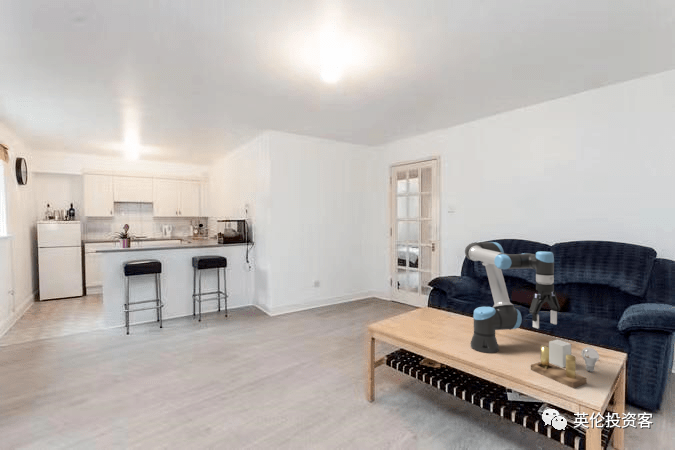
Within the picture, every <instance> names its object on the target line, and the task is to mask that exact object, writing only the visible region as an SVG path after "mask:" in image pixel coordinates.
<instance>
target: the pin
mask: <svg viewBox="0 0 675 450" xmlns="http://www.w3.org/2000/svg"><path fill="white" fill-rule="evenodd" d="M540 362H541V367H543V368H545V369H549V346H546V345H540Z"/></svg>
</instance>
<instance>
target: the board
mask: <svg viewBox="0 0 675 450" xmlns="http://www.w3.org/2000/svg"><path fill="white" fill-rule="evenodd" d="M530 371H532V372H535V373H538V374H540V375H542V376H544V377H546V378H549V379H552V380H553V381H556V382H558V383H561V384H562V385H565V386H567V387H570V388H572V389H575V388H578V387H581V386H584V385H586V384H587V383H588V382H587V381H588V380H587V377H585V376H582V375H581V374H578V373H576V356H575V355H572V354H571V355H566V367H565V368H562V367H560V366H557V365H554V364H552V363H549V369H545V368H543V367H541V361H540V362H536V363H535V362H534V363H533V364H530Z"/></svg>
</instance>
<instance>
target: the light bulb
mask: <svg viewBox="0 0 675 450" xmlns="http://www.w3.org/2000/svg"><path fill="white" fill-rule="evenodd" d="M581 357H582V359H583V360H584V364H585V370H586V371H587V372H589V373H593V372H595V366H596V363H597V362H598V361H599V358H600V354H599V351H598V350H596V349H595V348H594V347H591V346H587V347H584V348H583V349H581Z"/></svg>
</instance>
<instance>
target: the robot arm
mask: <svg viewBox="0 0 675 450" xmlns="http://www.w3.org/2000/svg"><path fill="white" fill-rule="evenodd" d="M464 254H465V256H466V258H467V259H468V260H471V261H473V262H479V261H480V262H481V264H482V266H483V267H484V268H485V271H486V275H487V278H488V283H489V287H490V291H491V295H492V299H493V303H494V304H493V306H492V307H491V306H479V307H476V308H475V309H474V310H473V314H472V315H473V316H472V317H473V335H472V338H471V340H470V348H471V349H472V350H474V349H475V351H477V352H479V353H487V354H488V353H489V354H494V353H497V352H499V350H500V346H499V343H498V341H497V337H496V331H502V330H505V331H506V330H510V331H511V330H516V329H518V328H520V326H521V324H522V321H523V320H522V314H521V311H520V310H519V309H517V308H516V307H515V306H514V305H515V304H513V303H512V302H511V301H510V298H509V293H508V289H507V286H506V285H507V284H506V282H505V278H504V275H503V271H502V270H515V269H519V270H520V269H521V270H522V269H533V270H535V290H536V291H537V293H533V295H532V296H533V297H532V301H531V303H530V307H529V310H528V313H529V314H531V315H532V317H531V318H532V328H535V329H540V314H539V312H540V310H541V308H542V306H543V305H544V304H545V303H547V305H548V306H549V307H550V309H551V310H550V316H549V317H550V324H553V325H557V324H558V312H560V309H561V306H560V304H559V299H558V298H557V291H555V285H554V283H555V281H554V280H555V278H554V277H555V276H554V274H555V273H554V272H555V258H554V257H555V256H554V252H552V251H541V250H540V251H537V252H535V254H534V253H530V252H524V253H523V252H522V253H516V254H515V253H513V254H509V253H505V251H504V248H503V247H502V244H500V243H498V242H496V241H495V242H494V241H487V242H485V241H483V242H472V243H469V244H467V246H466V247H465V249H464Z"/></svg>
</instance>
